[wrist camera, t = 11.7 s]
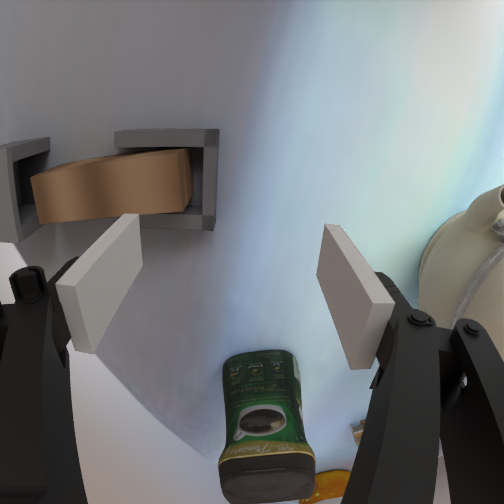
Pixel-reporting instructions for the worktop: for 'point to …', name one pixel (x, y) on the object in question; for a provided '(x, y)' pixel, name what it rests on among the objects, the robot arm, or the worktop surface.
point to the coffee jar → (264, 431)
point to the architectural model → (358, 432)
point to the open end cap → (210, 141)
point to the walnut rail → (115, 186)
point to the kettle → (467, 268)
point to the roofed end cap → (17, 191)
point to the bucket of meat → (328, 487)
